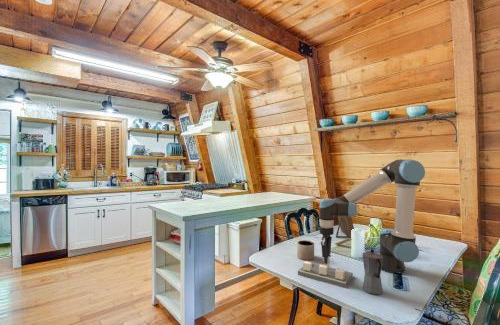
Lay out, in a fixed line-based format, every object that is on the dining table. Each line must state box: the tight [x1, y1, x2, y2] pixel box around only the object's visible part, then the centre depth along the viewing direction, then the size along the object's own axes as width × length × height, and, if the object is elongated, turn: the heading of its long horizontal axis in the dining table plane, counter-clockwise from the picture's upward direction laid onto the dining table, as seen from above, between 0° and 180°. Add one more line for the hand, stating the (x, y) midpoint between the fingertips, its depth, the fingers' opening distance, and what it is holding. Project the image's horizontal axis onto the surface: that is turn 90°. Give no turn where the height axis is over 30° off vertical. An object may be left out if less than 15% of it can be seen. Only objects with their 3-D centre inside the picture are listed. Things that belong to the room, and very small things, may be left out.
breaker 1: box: [302, 260, 313, 271], centre depth 147 cm, size 4×3×4 cm
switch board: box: [297, 262, 354, 289], centre depth 145 cm, size 26×15×2 cm, turn 56°
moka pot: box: [362, 249, 383, 295], centre depth 128 cm, size 10×15×20 cm, turn 2°
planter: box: [296, 240, 315, 261], centre depth 171 cm, size 11×11×10 cm
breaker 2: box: [335, 268, 346, 280], centre depth 137 cm, size 4×3×4 cm
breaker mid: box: [319, 264, 328, 275], centre depth 142 cm, size 4×3×4 cm
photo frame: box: [335, 216, 355, 240], centre depth 219 cm, size 15×22×25 cm
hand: (326, 268), depth 146 cm, fingers closed
